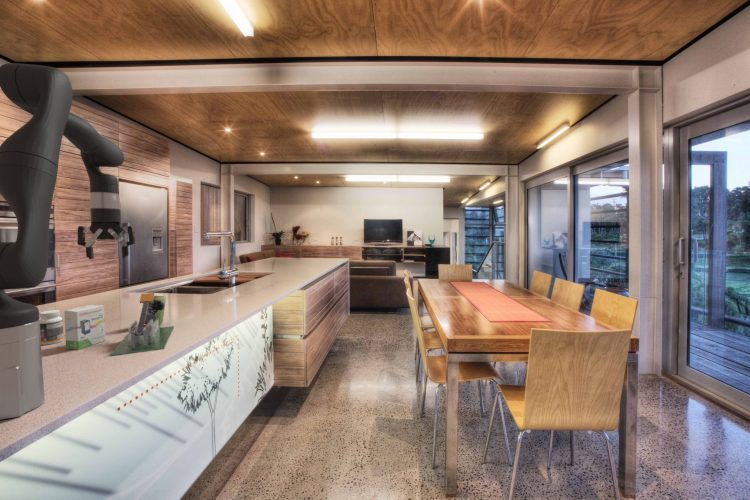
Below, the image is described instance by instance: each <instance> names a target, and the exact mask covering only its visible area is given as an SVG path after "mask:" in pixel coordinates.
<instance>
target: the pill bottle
mask: <svg viewBox="0 0 750 500" xmlns="http://www.w3.org/2000/svg"><path fill="white" fill-rule="evenodd" d="M60 315H61V310H59V309H54V310H53V309H52V310H51V309H50V310H45V311H41V312H39V320H40V337H41V346H42V345H43V346H44V345H45V346H46V345H54V344H57V343H61V342H62V341H63V340H64V323H63V322H64V321H63V318H62V317H61V316H60Z"/></svg>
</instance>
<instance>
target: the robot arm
mask: <svg viewBox="0 0 750 500" xmlns="http://www.w3.org/2000/svg"><path fill="white" fill-rule="evenodd" d="M0 90H1V92H2V93H3V94H4V95H5V98H7V99H8V100H9V101H11V103H13V104H15V105H16V106H17V107H19V109H22V110H23V111H25V112H27V113H28V114H29V115H32V117H31V118H30V119H29V120H28V121H27V122H26V123H24V124H23V125H22V126H21V127H19V128H18V129H17V130H15V131H14V132H13V133H12V134H10V135H9V136H8V137H6V139H5V140H4V141H3V142H2V143H1V144H0V195H1V197H2V198H3V199H4V201H5V202H6V203H7V204H8V206H9V207H10V209H11V210H12V212H13V214H14V216H15V217H16V220H17V234H16V235H17V236H16V239H15V241H7V242H6V241H5V242H3V241H2V242H0V420H6V419H11V418H18V417H21V416H23V415H25V413H29V412H30V411H33V410H34V409H36V408H39V407H40V406H42V405H43V404H44V402H45V399H46V398H45V383H44V371H43V357H42V356H43V355H42V353H43V352H42V345H41V337H40V310H39V308H38V306H37V305H35V304H33V303H32V304H31V303H28V302H27V303H26V302H22V301H19V300H17V299H14V298H12V297H11V296H9V295H8V294H7V293H6V290H22V289H23V290H24V289H32V288H36V287H38V286H39V285H41V283H42V282H43V281H44V279H45V278H46V275H47V271H48V265H49V247H50V221H51V213H52V212H51V211H52V205H53V199H54V198H53V197H54V193H55V188H56V184H57V178H58V170H59V159H60V153H61V147H62V142H63V137H65V138H66V139H67V140H68V141H69V142H70V143H71V144H72V145H74V147H76V149H78V150H79V151H80V158H81V160H82V162H83V165H84V166H85V170H86V172H87V177H88V179H89V189H90V190H89V192H90V194H89V207H90V208H89V209H90V210H89V211H90V225H89V226H84V225H78V227H77V245H78V246H82V247H84V248H85V257H86V258H88V260H93V259H94V258H95V254H94V247H93V246H94V244H95V243H97V241H98V240H101V241H103V240H116V241H117V242H119V244H121V245H122V246H121V253H122V254H121V257H122V259H126V258H127V257H129V247H130V246H131V245H135V244H136V238H135V231H134V227H133V226H132V225H129V226H123V225H122V215H121V212H122V211H121V200H120V195H119V181H118V178H117V176H115V175H113V174H108V173H104V172H102V171H101V169H100V167H101V168H102V167H103V168H118V167H120V166H122V165H123V163H124V162H125V153H124V152H123V151H122V149H121V148H120V146H119V145H118V144H116V143H115V142H113V141H112V140H110V139H109V138H106V137H105V136H103V135H101V134H100V133H99V132H98V130H96V128H95V127H94V126H93V125H92V124H91V123H90V122H89V121H87V120H85V119H84V118H82V117H81V116H79V115H77V114H75V113H73V112H71V109H72V104H73V96H74V95H73V94H74V93H73V92H74V91H73V86H72V83H71V81H70V78H69V77H68V75H67V74H66V73H65V72H64V71H63V70H61V69H60V68H56V67H54V66H53V67H52V66H47V65H41V64H28V63H27V64H26V63H17V62H16V63H14V62H13V63H11V62H8V63H7V62H6V63H3V64H2V65H0ZM89 231H90V233H92V234H93V235H92V236H91V237H90V238H89V240H88V241H86V234H87V233H88V232H89ZM123 231H125V233H126V234H128V235H127V236H128V241H127V240H125V238H124V237H123V236H122V235H121V233H123Z"/></svg>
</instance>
